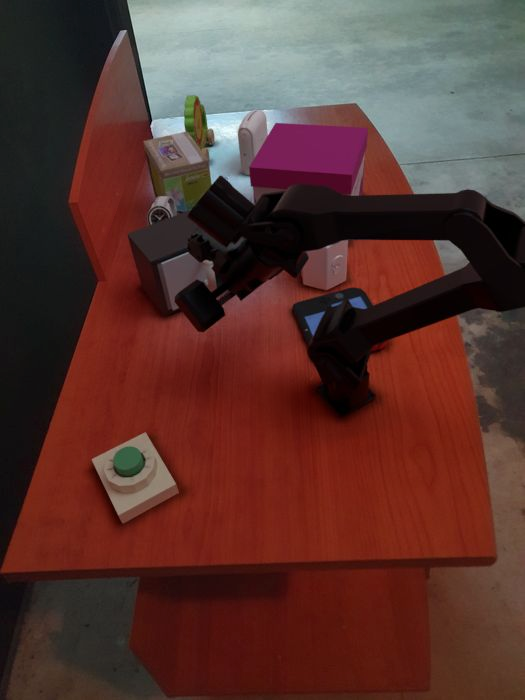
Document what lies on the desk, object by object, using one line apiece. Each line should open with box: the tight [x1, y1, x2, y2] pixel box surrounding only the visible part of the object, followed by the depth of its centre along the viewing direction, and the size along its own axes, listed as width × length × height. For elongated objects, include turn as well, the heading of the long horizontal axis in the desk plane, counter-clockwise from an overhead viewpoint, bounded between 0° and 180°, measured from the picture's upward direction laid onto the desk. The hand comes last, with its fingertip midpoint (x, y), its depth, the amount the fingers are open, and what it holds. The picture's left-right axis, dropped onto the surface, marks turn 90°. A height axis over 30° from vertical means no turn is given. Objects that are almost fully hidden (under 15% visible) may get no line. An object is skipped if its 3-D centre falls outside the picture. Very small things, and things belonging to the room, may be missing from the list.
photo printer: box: [237, 109, 269, 176], centre depth 132 cm, size 10×4×12 cm, turn 160°
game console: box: [292, 287, 388, 352], centre depth 94 cm, size 14×13×2 cm
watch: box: [146, 196, 177, 226], centre depth 110 cm, size 6×8×11 cm
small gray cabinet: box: [126, 209, 246, 318], centre depth 102 cm, size 10×18×12 cm, turn 122°
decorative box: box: [249, 122, 369, 242], centre depth 114 cm, size 19×19×15 cm
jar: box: [300, 240, 349, 291], centre depth 101 cm, size 9×8×12 cm
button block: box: [91, 431, 180, 525], centre depth 75 cm, size 10×8×4 cm
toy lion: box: [183, 94, 215, 162], centre depth 136 cm, size 16×5×15 cm, turn 176°
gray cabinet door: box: [161, 252, 217, 310], centre depth 96 cm, size 4×9×10 cm, turn 122°
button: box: [113, 446, 144, 477], centre depth 74 cm, size 4×4×2 cm
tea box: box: [143, 131, 213, 215], centre depth 118 cm, size 15×10×15 cm
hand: (218, 296), depth 88 cm, fingers open, 9 cm apart
